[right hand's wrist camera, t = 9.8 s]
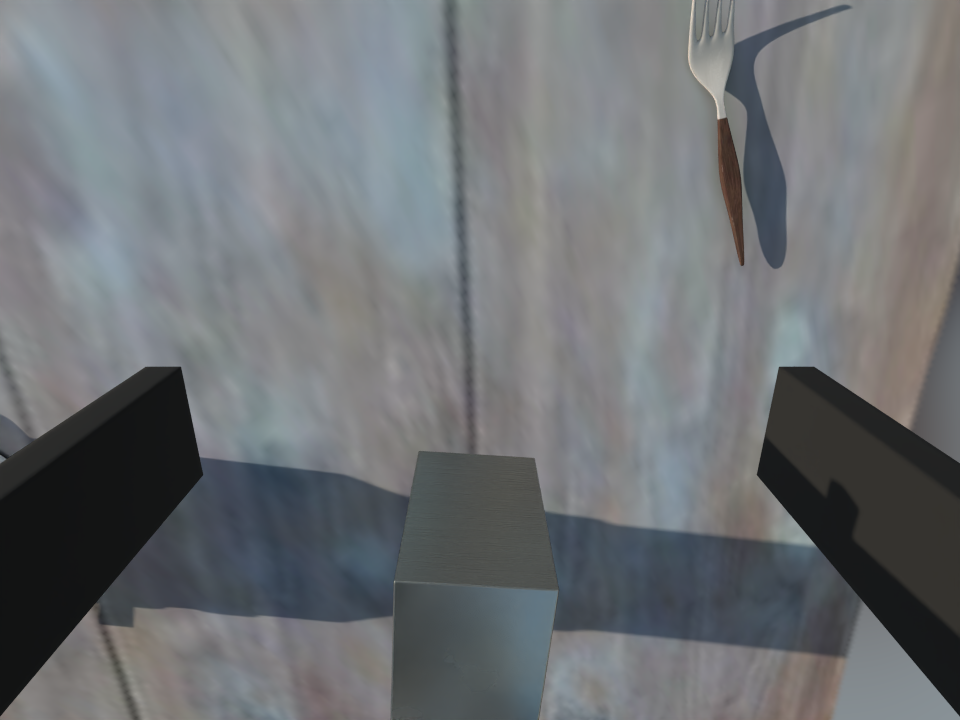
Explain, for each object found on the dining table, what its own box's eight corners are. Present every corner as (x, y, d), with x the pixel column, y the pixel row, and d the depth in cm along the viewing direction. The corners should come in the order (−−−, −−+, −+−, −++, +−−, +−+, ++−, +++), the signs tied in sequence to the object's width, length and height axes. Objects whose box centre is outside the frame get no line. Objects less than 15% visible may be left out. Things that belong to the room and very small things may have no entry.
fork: (718, 269, 37) (731, 276, 35) (678, -2, 31) (690, -12, 29) (758, 258, 36) (773, 264, 34) (724, -18, 31) (740, -29, 29)
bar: (418, 450, 29) (393, 581, 20) (534, 457, 29) (559, 590, 20) (405, 786, 38) (384, 974, 29) (493, 790, 38) (498, 978, 29)
